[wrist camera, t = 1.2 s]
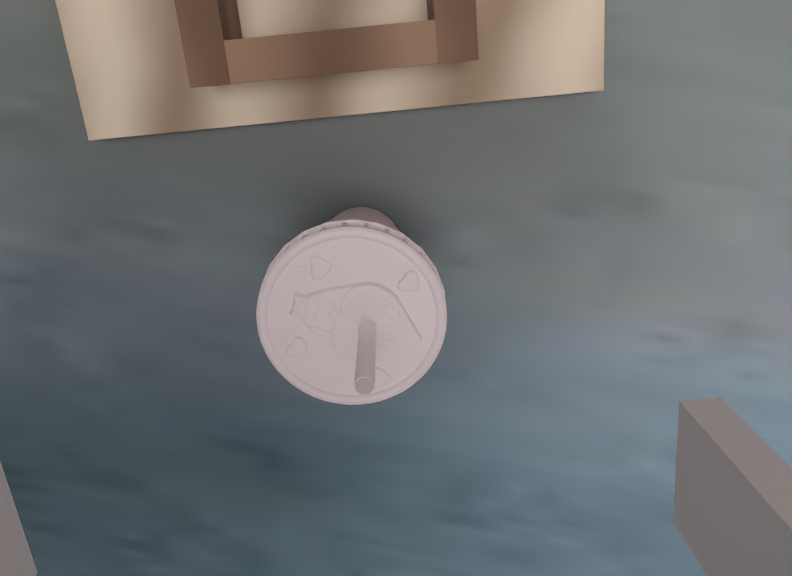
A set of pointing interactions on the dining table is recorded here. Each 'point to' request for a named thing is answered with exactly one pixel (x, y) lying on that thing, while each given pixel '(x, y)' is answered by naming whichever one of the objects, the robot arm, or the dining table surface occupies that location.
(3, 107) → the dining table surface
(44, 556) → the dining table surface
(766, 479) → the robot arm
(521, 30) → the socket board
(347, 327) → the smoothie
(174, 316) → the dining table surface
